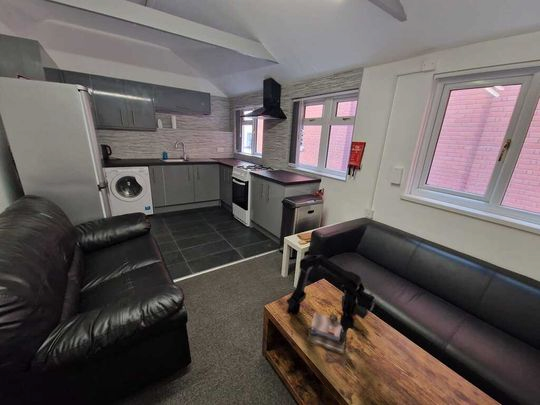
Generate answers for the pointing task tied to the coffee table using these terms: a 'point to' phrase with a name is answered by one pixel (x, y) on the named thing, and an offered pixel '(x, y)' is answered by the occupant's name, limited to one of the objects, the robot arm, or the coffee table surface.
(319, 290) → the coffee table surface
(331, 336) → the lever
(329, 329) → the terracotta cube
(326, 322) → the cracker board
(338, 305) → the coffee table surface
